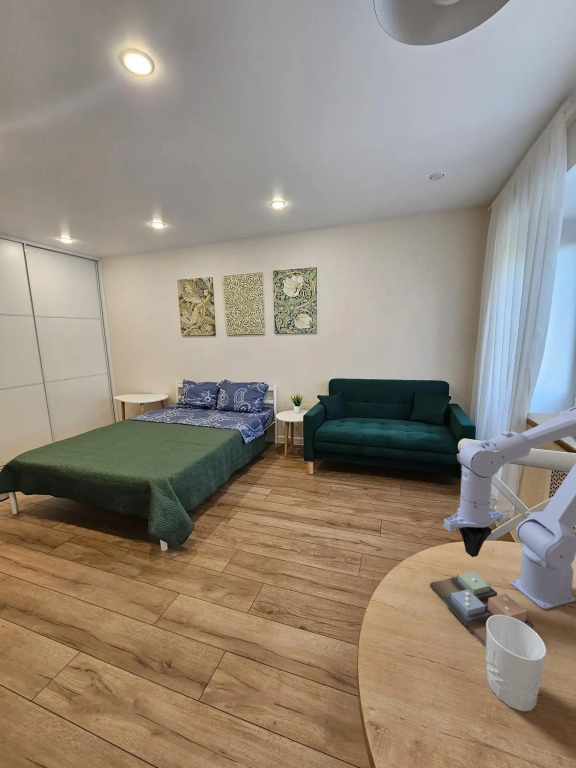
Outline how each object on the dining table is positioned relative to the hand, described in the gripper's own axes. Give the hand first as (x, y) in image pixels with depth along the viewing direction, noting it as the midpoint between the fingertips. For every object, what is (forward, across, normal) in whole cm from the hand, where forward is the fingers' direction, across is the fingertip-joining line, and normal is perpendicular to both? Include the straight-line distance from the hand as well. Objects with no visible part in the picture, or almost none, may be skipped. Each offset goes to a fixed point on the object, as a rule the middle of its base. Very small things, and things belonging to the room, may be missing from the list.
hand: (471, 553), depth 70 cm
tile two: (+7, 0, +9) cm, 12 cm away
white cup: (+10, +10, +18) cm, 23 cm away
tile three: (+9, +6, +5) cm, 11 cm away
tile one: (+8, 0, +1) cm, 8 cm away
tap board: (+10, +2, +5) cm, 11 cm away
